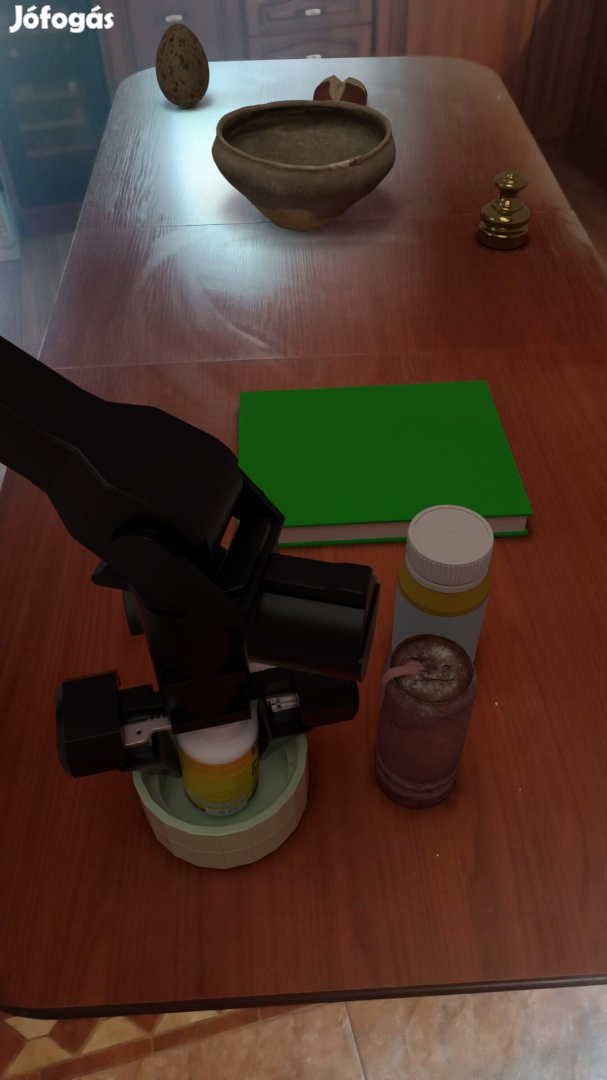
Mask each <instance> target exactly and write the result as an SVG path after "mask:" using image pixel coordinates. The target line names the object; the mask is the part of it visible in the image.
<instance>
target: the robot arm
mask: <svg viewBox="0 0 607 1080" xmlns="http://www.w3.org/2000/svg"><path fill="white" fill-rule="evenodd" d="M238 463H239V461H238V456H236V454H235V453H234V452H233V450H231V448H230V447H229V446H227V445H226V444H225V443H224V442H223V441H222V440H220V439H219V438H218V437H216V436H214V435H212V434H210V432H208V431H207V432H206V431H205V430H203V429H201V428H199V427H197V426H195V425H192V424H191V423H189V422H187V421H184V420H183V419H181V418H179V417H177V416H175V415H172V414H171V413H168V412H167V411H165V410H162V409H161V408H159V407H156V406H153V405H144V404H135V403H126V402H118V401H109V400H106V399H103V398H102V397H100V396H98V395H95V394H93V393H91V392H89V391H87V390H85V389H83V388H82V387H80V386H79V385H77V384H75V383H74V382H73V381H72V380H70V379H68V378H66V377H65V376H63V375H62V374H60V373H59V372H58V371H56V370H54V369H53V368H51V367H50V366H48V365H47V364H45V363H44V362H42V361H40V360H39V359H38V358H36V357H34V356H33V355H32V354H30V353H28V352H26V351H25V350H24V349H22V348H20V347H19V346H18V345H16V344H14V343H13V342H12V341H10V340H8V339H7V338H5V337H4V336H2V335H1V334H0V464H1V465H3V466H5V467H7V469H8V468H9V469H10V470H11V471H13V472H15V473H16V474H18V475H20V476H21V477H23V478H24V479H25V480H27V481H29V482H30V483H31V484H33V485H34V486H35V487H37V488H38V489H39V490H41V491H42V492H43V493H45V495H46V496H47V497H48V499H49V501H50V503H51V504H52V506H53V508H54V509H55V512H56V513H57V515H58V516H59V517H58V518H60V520H61V522H62V523H63V526H64V527H65V529H66V531H67V533H68V534H69V535H70V537H71V538H72V539H74V540H75V541H76V542H77V543H79V544H80V545H82V547H84V548H85V549H87V550H88V551H90V552H91V553H92V554H94V555H95V556H96V557H97V558H99V562H98V563H97V565H96V566H95V568H94V570H93V572H92V574H91V576H90V581H91V582H92V583H93V584H94V585H96V586H98V587H105V588H110V589H115V590H120V591H121V594H122V596H121V597H122V603H123V607H124V612H125V618H126V624H127V628H128V631H129V635H130V636H131V637H136V636H142V635H143V636H144V637H145V642H146V646H147V650H148V654H149V656H150V661H151V665H152V669H153V672H154V676H155V679H156V683H157V687H158V691H155V689H154V686H153V684H152V683H149V684H143V685H138V686H134V687H127V688H123V689H120V687H121V686H122V683H121V676H120V673H119V670H118V668H115V669H110V670H104V671H99V672H95V673H89V674H84V675H80V676H74V677H73V676H72V677H69V678H64V680H63V681H62V682H61V684H60V685H59V687H57V690H56V691H55V732H56V733H55V738H56V739H55V740H56V741H55V743H56V744H55V745H56V746H55V747H56V751H57V757H58V760H59V763H60V765H61V768H62V769H63V771H64V773H65V774H67V775H69V777H71V778H73V779H79V778H84V777H89V776H93V775H98V774H103V773H109V772H112V771H117V772H119V773H128V772H132V771H137V772H146V773H154V774H160V775H164V776H168V777H172V778H181V777H182V773H181V766H180V760H179V756H178V752H177V749H176V747H175V745H174V743H173V741H172V738H171V736H170V734H169V732H168V729H172V731H173V735H177V734H182V733H187V732H192V731H196V730H201V729H206V728H211V727H216V726H220V725H225V724H230V723H235V722H240V721H244V720H249V719H252V715H251V711H252V703H251V701H252V700H257V714H256V715H257V718H258V726H259V759H260V760H265V759H266V758H268V757H269V756H270V755H271V754H273V753H274V752H275V751H277V750H278V749H279V748H281V747H282V746H283V745H285V744H287V743H288V742H290V741H292V740H293V739H295V738H297V737H298V736H300V735H303V734H305V735H307V734H310V733H311V732H312V731H313V730H314V728H319V727H324V726H329V725H333V724H338V723H343V722H348V721H353V720H354V719H355V716H357V714H358V712H359V710H360V709H359V708H360V693H359V692H360V691H359V686H358V683H360V684H362V683H364V679H365V676H366V673H367V670H368V666H369V661H370V657H371V651H372V646H373V643H374V637H375V631H376V625H377V618H378V610H379V603H380V596H381V595H380V594H381V583H379V582H378V578H377V575H376V574H374V569H373V567H372V566H370V565H365V564H359V563H354V562H332V561H325V560H320V559H313V558H307V557H301V556H295V555H290V554H284V553H280V548H279V537H280V534H281V531H282V528H283V526H284V523H285V520H286V518H285V516H284V515H283V514H282V513H281V512H280V510H279V509H278V508H277V507H276V506H275V505H274V504H273V503H272V502H271V501H270V500H269V498H268V497H267V496H266V495H265V494H264V491H262V490H261V489H260V488H259V487H257V485H256V484H255V483H254V482H253V481H252V480H251V479H250V478H249V477H248V476H247V475H246V473H245V472H244V471H243V470H242V469H241V468H240V467H239V466H238ZM232 518H234V519H236V520H237V519H238V520H240V521H239V523H238V526H237V525H236V528H235V530H234V533H233V534H232V535H233V536H232V538H231V540H230V542H229V544H228V547H227V548H226V547H224V546H222V545H221V544H222V541H223V538H224V536H225V534H226V532H227V529H228V527H229V525H230V522H231V520H232Z"/></svg>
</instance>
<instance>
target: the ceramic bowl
mask: <svg viewBox="0 0 607 1080" xmlns="http://www.w3.org/2000/svg"><path fill="white" fill-rule="evenodd" d="M251 703H252V707H253V708H254V710H255V712H256V714H257V700H252V701H251ZM168 732H169V734H170V736H171V738H172V741H173V743H174V745H175V747H176V749H177V752H178V756H179V751H178V744H177V737H176V735H173V731H172V729H168ZM308 753H309V751H308V741H307V737H306V734H303V735H300V736H298V737H297V738H295V739H293V740H292V741H290V742H288V743H287V744H285V745H283V746H282V747H281V748H279V749H278V750H277V751H275V752H274V753H273V754H271V755H270V756H269V757H268V758H266V759H265V760H260V759H259V781H258V788H257V791H256V793H255V796H254V797H253V799H252V800H251V802H250V803H249V804H248V805H247V806H246V807H244V808H243V809H242V810H240V811H238V812H236V813H234V814H231V815H227V816H211V815H207V814H204V813H202V812H200V811H199V810H197V809H196V808H195V807H194V806H193V805H192V804H191V803H190V802H189V800H188V799H187V797H186V795H185V792H184V787H183V781H182V777H181V778H172V777H168V776H164V775H160V774H154V773H146V772H137V771H131V772H132V781H133V785H134V788H135V790H136V791H135V792H136V793H137V796H138V799H139V801H140V804H141V807H142V809H143V812H144V815H145V818H146V820H147V821H148V824H149V826H150V828H151V830H152V832H153V834H154V836H155V838H156V840H157V841H158V842H159V843H161V845H163V846H164V847H165V849H167V850H168V851H169V852H170V853H171V854H172V855H173V856H174V857H175V858H178V859H180V860H183V861H185V862H187V863H189V864H192V865H194V866H196V867H200V868H208V869H209V868H210V869H222V870H227V869H231V868H232V869H233V868H235V867H236V868H237V867H240V866H244V865H249V864H253V863H255V862H258V861H259V860H260V859H262V858H264V857H266V856H267V855H270V854H271V853H272V852H274V851H276V850H277V849H278V848H280V847H281V845H283V844H284V843H285V841H286V840H287V839H288V838H289V836H291V834H292V833H293V832H294V831H295V830H296V829H297V827H298V825H299V823H300V820H301V818H302V816H303V813H304V811H305V809H306V807H307V804H308V796H309V795H308V793H309V782H310V777H309V776H310V775H309V774H310V773H309V754H308ZM179 760H180V759H179Z"/></svg>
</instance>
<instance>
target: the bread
mask: <svg viewBox="0 0 607 1080" xmlns="http://www.w3.org/2000/svg"><path fill="white" fill-rule="evenodd" d="M312 100H313V101H316V100H318V101H326V100H337V101H345V102H351V103H355V104H358V105H362V106H365V107H366V104H367V103H368V90H367V88H366V86H365V85H364V84H363V83H362V82H361V80H359V79H356V78H354V77H350V76H348V77H346V78H345V79H344V80H343V81H342V80H341V79H340V78H339V77H337V76H336V75H335V74H333V75H331V76H329V77H328V76H327V77H326V78H324V79H323V80H322V81H321V82H320V83H319V84H317V86H316V87H315V88H314V91H313V96H312Z"/></svg>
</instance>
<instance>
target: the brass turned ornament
mask: <svg viewBox="0 0 607 1080" xmlns="http://www.w3.org/2000/svg"><path fill="white" fill-rule="evenodd" d="M492 182H493V185H494V186H495V187H496V188H497V189H498V191H499V193H498V194H497V196H496V197H494V198H493V199H492V200H490V201H488V202H487V203H484V205H482V207H481V208H480V213H479V215H480V216H479V217H480V221H479V222H478V231H477V239H478V241H479V242H480V243H481V244H482V245H484V246H486V247H488V248H491V249H496V250H512V249H517V248H519V247H521V246H523V245H524V244H525V243H526V242H527V238H528V232H529V230H530V227H529V223H530V220H531V218H532V212H531V209H530V208H529V206H528V205H527V204H525V203H524V202H523V201H522V199H521V198H520V197H519V193H520V192H521V191H523V190H524V189H526V188H527V187H528V185H529V178H528V177H527V176H526V175H524V174H522V173H521V172H519V171H518V170H515V169H509V170H506V171H503V172H500V173H498V174H496V175H494V177H493V179H492Z"/></svg>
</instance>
